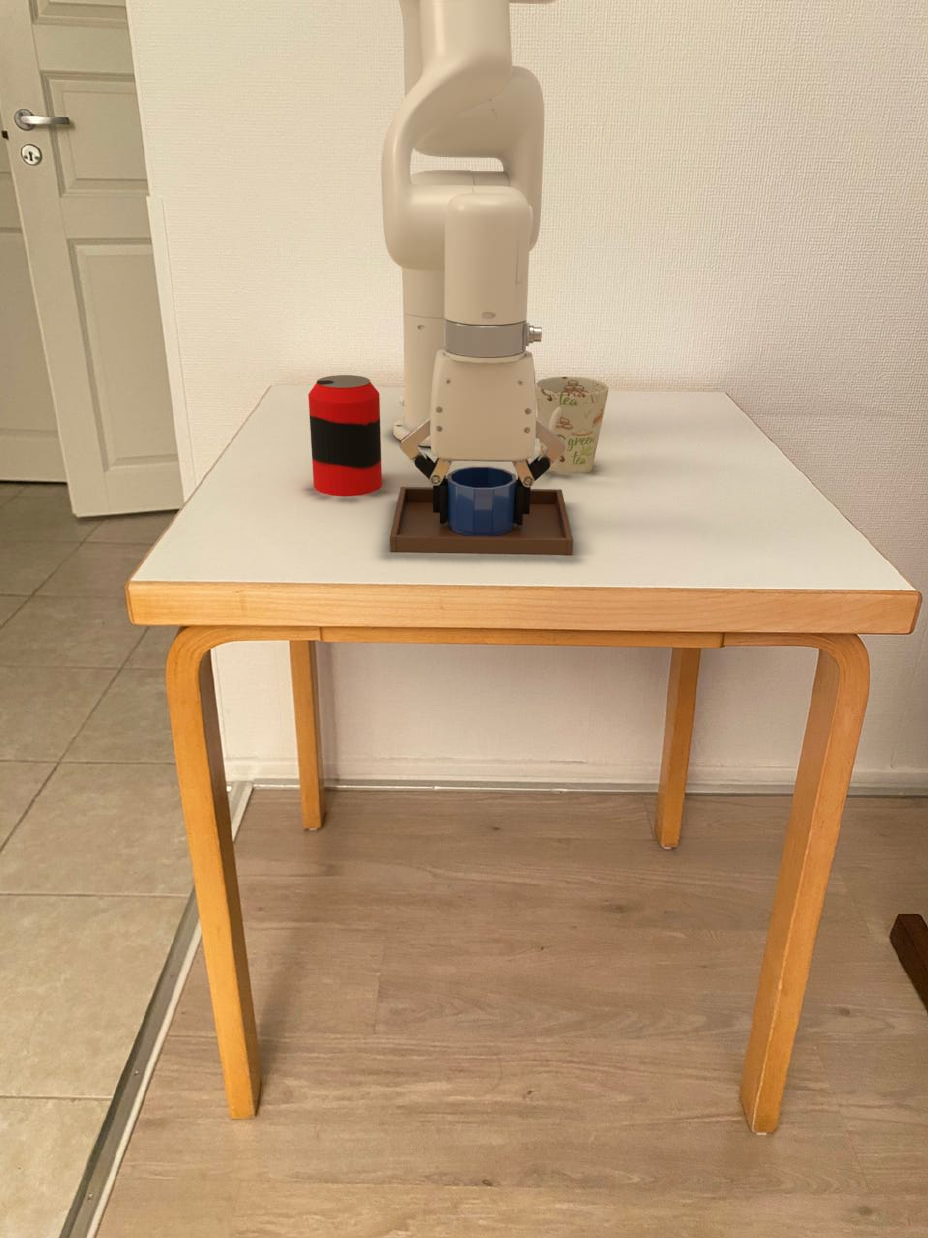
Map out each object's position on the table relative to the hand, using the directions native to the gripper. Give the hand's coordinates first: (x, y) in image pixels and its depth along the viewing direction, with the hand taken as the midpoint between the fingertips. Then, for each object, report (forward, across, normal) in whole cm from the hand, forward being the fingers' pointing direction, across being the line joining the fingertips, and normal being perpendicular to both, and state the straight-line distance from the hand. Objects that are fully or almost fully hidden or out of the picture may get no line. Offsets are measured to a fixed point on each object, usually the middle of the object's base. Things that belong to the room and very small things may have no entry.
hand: (480, 518), depth 98 cm
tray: (+1, 0, 0) cm, 1 cm away
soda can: (+1, +15, -12) cm, 19 cm away
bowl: (+1, 0, 0) cm, 1 cm away
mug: (+1, -10, -18) cm, 21 cm away
